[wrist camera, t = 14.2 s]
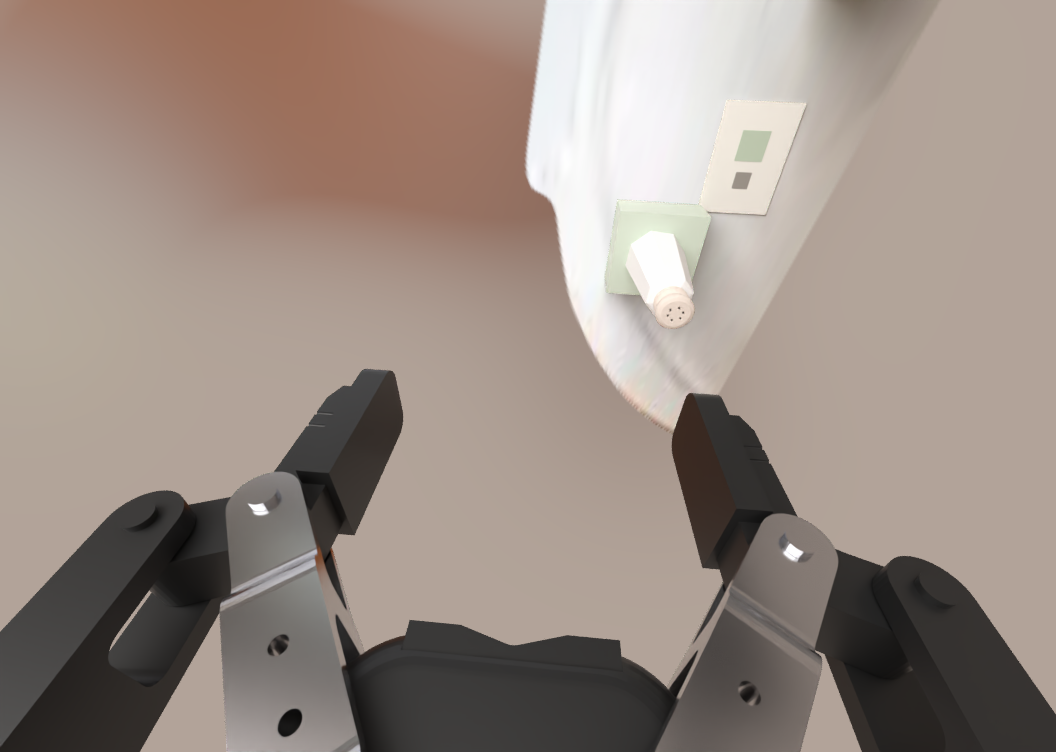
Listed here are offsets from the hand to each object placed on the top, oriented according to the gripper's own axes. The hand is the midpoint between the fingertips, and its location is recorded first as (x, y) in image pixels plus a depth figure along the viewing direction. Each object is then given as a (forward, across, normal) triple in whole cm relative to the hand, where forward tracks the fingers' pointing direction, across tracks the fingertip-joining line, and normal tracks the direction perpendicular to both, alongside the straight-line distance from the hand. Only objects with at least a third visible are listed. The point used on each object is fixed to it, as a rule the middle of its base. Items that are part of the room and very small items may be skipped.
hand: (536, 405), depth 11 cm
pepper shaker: (+30, -10, +7) cm, 32 cm away
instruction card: (+34, -17, -1) cm, 38 cm away
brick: (+34, -10, +7) cm, 36 cm away
